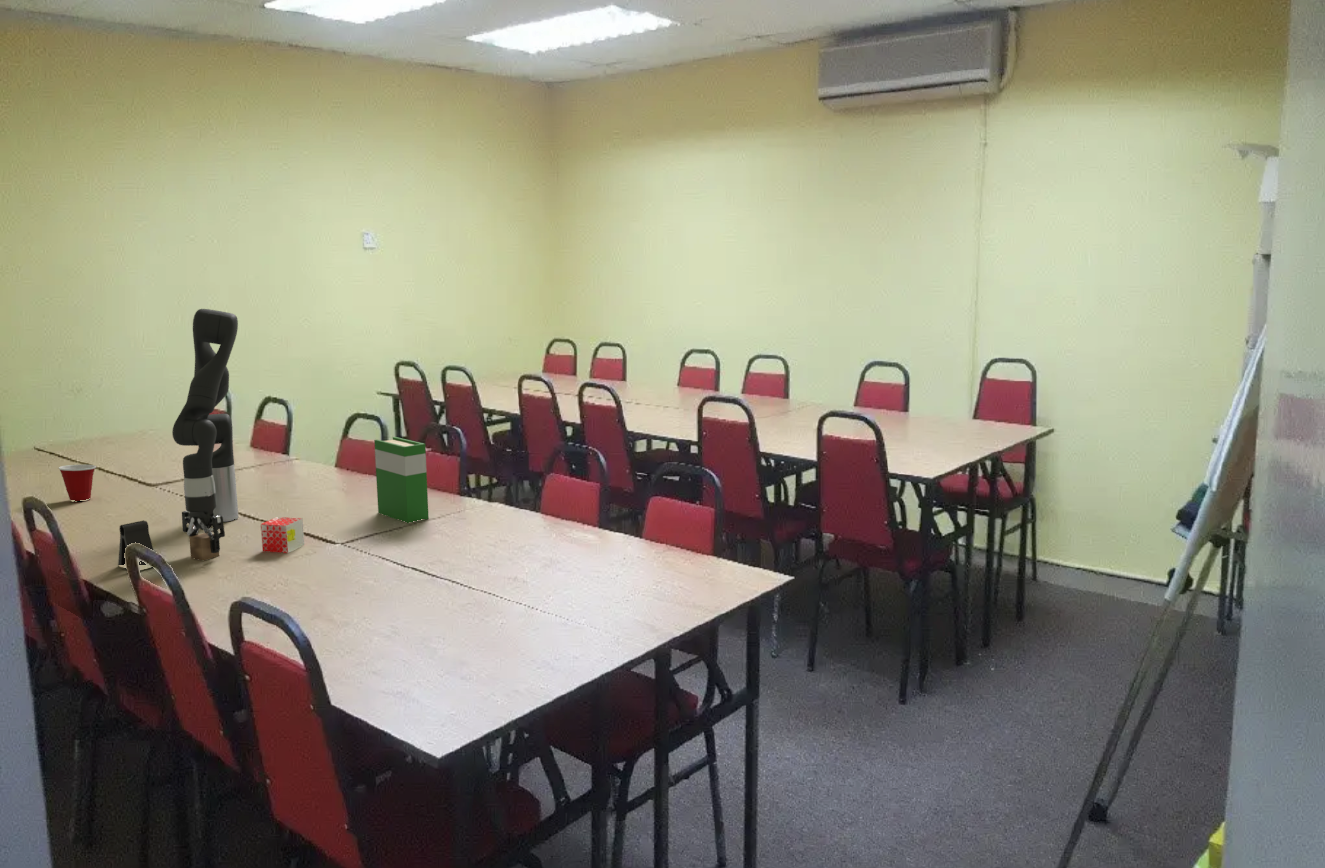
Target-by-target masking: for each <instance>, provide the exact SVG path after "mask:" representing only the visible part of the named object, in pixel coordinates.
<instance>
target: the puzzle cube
mask: <svg viewBox="0 0 1325 868" xmlns="http://www.w3.org/2000/svg"><path fill="white" fill-rule="evenodd" d="M303 522H304V519H303V517H289V516H288V517H287V516H286V517H285V516H276V517H273V518H271V519H269V520H267V521H264V522H262V523H260V531H261V533H260V534H261V546H262V552H266V551H270V553H281V552H283V554H289V553H291V552H293V551H295V550H297V549H299V548H300V547H303V546H304V545H305V536H304V535H305V533H304V523H303ZM302 545H303V546H302Z"/></svg>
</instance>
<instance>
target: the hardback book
mask: <svg viewBox="0 0 1325 868" xmlns="http://www.w3.org/2000/svg"><path fill="white" fill-rule="evenodd" d="M373 444H374V457H375V459H374V460H375V474H376V475H375V478H376V479H375V480H376V494H377V495H376V496H377V511H378V512H377V513H378V514H379V513H380V514H379V515H382V514H383V516H385V515H386V517H389V518H391V519H394V520H397V519H399V520H398V521H400V520H402V521H401V522H403V521H405V522H407V523H406V524H410V523H409V522H412V523H414V522H413V521H416V522H418V521H417V520H421V519H425V520H429V518H430V517H429V498H428V477H427V473H428V471H427V455H426V454H427V453H426V452H427V451H426V443H423V442H419V441H414V440H411V439H405V438H401V437H397V436H392V439H388V440H380V439H374V443H373ZM421 521H422V520H421ZM405 522H404V523H405Z"/></svg>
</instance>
